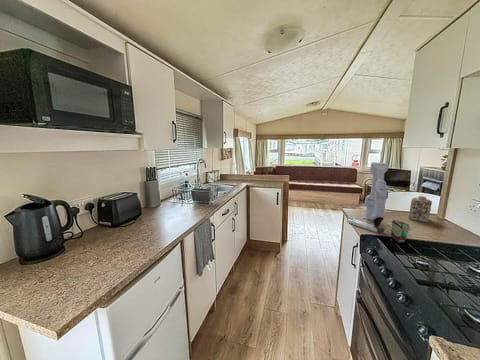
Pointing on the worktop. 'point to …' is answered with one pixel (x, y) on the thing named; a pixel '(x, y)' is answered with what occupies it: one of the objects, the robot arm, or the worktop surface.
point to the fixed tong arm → (364, 226)
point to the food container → (399, 230)
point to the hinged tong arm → (369, 225)
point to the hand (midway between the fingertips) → (376, 227)
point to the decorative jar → (420, 209)
